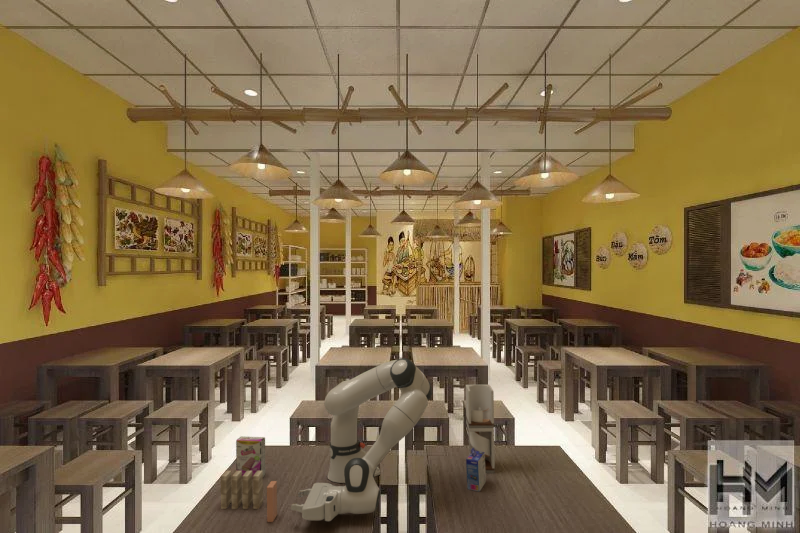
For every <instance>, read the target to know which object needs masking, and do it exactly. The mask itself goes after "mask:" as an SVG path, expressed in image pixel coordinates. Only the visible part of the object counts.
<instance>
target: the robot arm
mask: <svg viewBox="0 0 800 533" xmlns="http://www.w3.org/2000/svg"><path fill="white" fill-rule="evenodd" d="M395 388H397V389H399V391H400V396H399V397H398V399H397V400H396V401H395V402H394V403H393V405H392V406H391V407H390V409H389V410H388V411H387V413H386V415H385V416H384V418H383V420H382V423H381V429H380V433H379V434H378V437H377V439H376V441H374V443H373V444H372V445H371V447H370V448H369V449H368V450H367V451H365V450H364V449H365V447H366V444H365V443H364V442H362V441H360V440H359V439H358V431H357V430H358V427H357V426H358V416H359V410H360V409H359V408H360V406H361V405H362V404H364V403H366V402H368V401H370V400H372V399H373V398H376V397H378V396H379V395H382V394H384V393H386V392H389V391H391V390H393V389H395ZM432 395H433V387H432V385H431V382H430V381H429V380H428V379H427V377H426V375H425V374H424V373H423V371H421V370H420V368H419V367H418V366H416V364H415V363H414V362H413V361H412V360H411V359H408V357H407V358H405V357H402V358H399V359H395V360H389V361H386V362H384V363H382V364H379V365H377V366H375V367H373V368H371V369H370V368H369V370H367V371H364V372H362V373H361V374H359V375H358V374H357V376H355V377H353V378H351V379H348V380H343V381H341V382H340V383H338V384H337V385H336V386H335V387H333V388H331V389H330V390H329V391H328V393H327V394H326V396H325V397H324V398H325V399H324V401H323V406H324V408H325V410H326V412H327V413H328V414H330V415H332V419H331V422H330V442H329V457H330V458H329V460H330V461H329V466H328V467H329V469H328V472H327V479H328V480H329V481H331V482H333V483H338V484H339V483H340V484H341V483H342V484H345V485H339V486H338V485H333V484H331V483H328V482H315V483H313V485H312V487H311V488H307V489H304V490H303V489H302V490H301V489H300V490H298V492H297V498H303V497H306V500H305V502H304V503H302V504H298V503H297V502H293V503H292V504H291V506H290V511H296V512H299V513H301V518H302V519H303V520H304V521H305V520H306V521H325V522H331V521H332V520H333V519H334V518H335V517H337V516H338V515H343V514H348V513H349V514H353V515H360V514H361V515H363V514H370V513H371V514H372V513H374V512H375V511H376V510H377V509H378V507H379V504H380V500H381V489H380V488H379V486H378V484H377V482H376V481H375V477H377V476H379V475H381V469H380V468H379V466H380V465H381V463H382V462H383V460H384V459H385V457H386V456H387V455H388V454H389V452H390V451H391V450H392V449H393V447H395V446H396V445H397V444H398V443H399V442H400V441H401V440H402V439H404V438H405V437H406V436H407V435H408V434H409V433H410V432H411V431H412V430H413V429H414V427H416V425H417V423H418V422H419V421H420V420H421V417H422V416H423V414H424V413H425V411H426V409H427V407H428V404H429V400H430V398H431V397H432Z"/></svg>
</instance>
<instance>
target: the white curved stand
mask: <svg viewBox="0 0 800 533" xmlns="http://www.w3.org/2000/svg"><path fill="white" fill-rule="evenodd" d="M494 398H495V395H494V389H493V388H492V387H491V385H490V384H465V420H466V421H465V423H466V426H467V430H468V456H469V455H470V454H471V449H472V448H474V449H475V451H480V452H485V472H486V474H496V472H495V471H496V470H495V469H496V467H495V466H496V465H495V461H496V460H495V411H494V410H495V409H494V408H495V407H494V406H495V404H494V401H495V400H494ZM473 451H474V450H473Z"/></svg>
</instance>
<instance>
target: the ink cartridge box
mask: <svg viewBox="0 0 800 533" xmlns="http://www.w3.org/2000/svg"><path fill="white" fill-rule="evenodd" d="M473 450H474V451H473ZM465 466H466V467H465V468H466V483H467V484H466V485H467V486H466V487H467V490H469V491H475V492H481V491H482V488H483V487H484V485H485V484H486V482H487V479H486V478H487V476H486V474H487V473H486V472H485V452H480V451H475V449H474V448H472V449H471V454H470V455H469V454H468V456H467V457H466V459H465Z"/></svg>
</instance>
